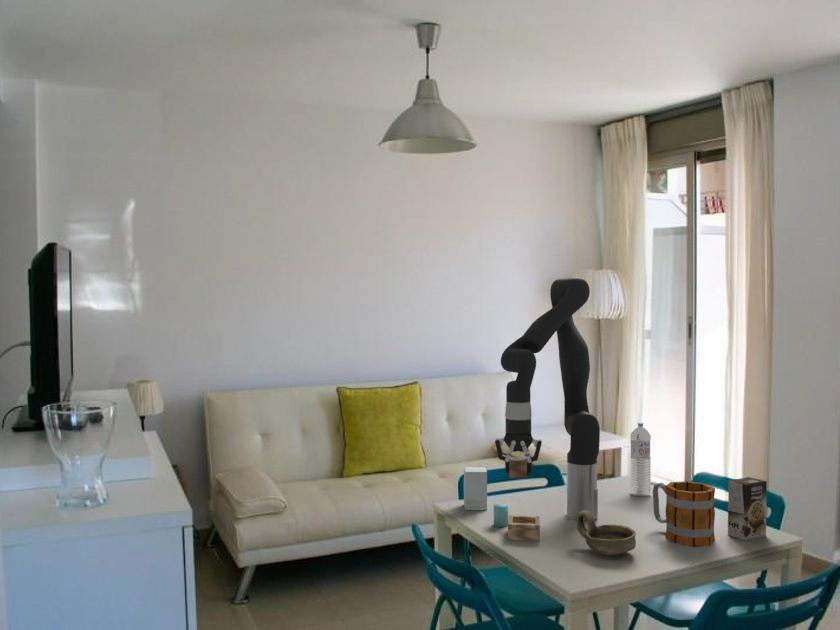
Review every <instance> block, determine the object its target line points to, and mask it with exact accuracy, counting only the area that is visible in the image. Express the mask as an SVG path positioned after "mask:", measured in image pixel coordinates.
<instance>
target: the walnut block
mask: <svg viewBox="0 0 840 630" xmlns="http://www.w3.org/2000/svg"><path fill="white" fill-rule="evenodd" d="M508 476H509V479H510V478H511V479H527V478H528V475H527V459H526V456H519V457H518V456H511V457H510V460H509V475H508Z"/></svg>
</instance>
